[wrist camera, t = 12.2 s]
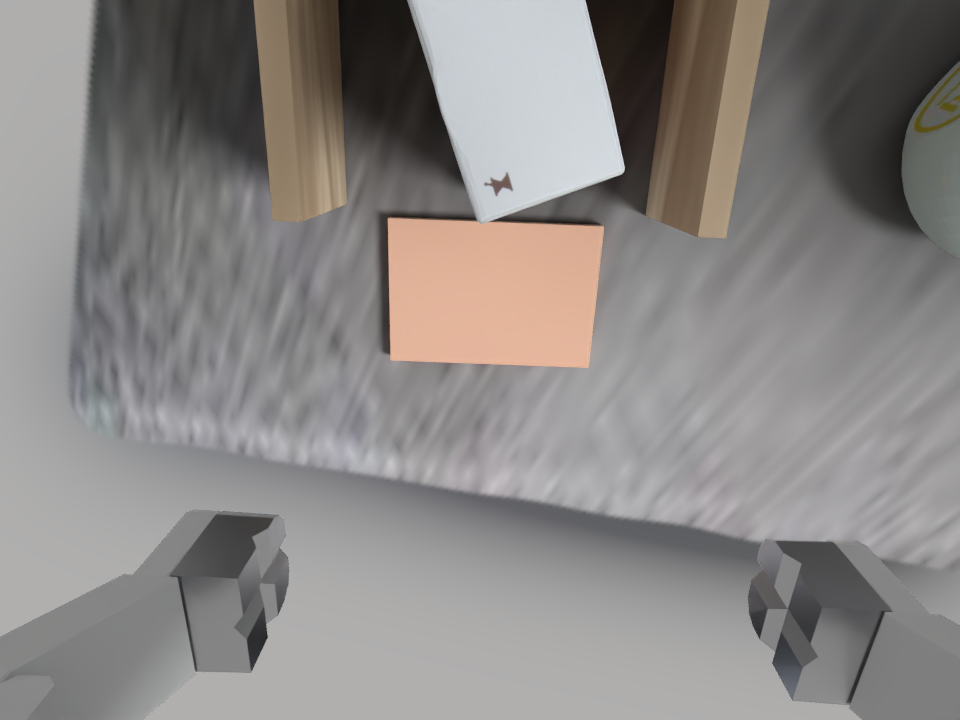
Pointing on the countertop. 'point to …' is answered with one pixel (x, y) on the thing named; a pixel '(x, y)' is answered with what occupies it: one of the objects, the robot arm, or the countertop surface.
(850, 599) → the robot arm
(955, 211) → the air freshener
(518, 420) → the countertop surface
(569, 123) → the skincare box
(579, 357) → the tile
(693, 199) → the open wooden frame
